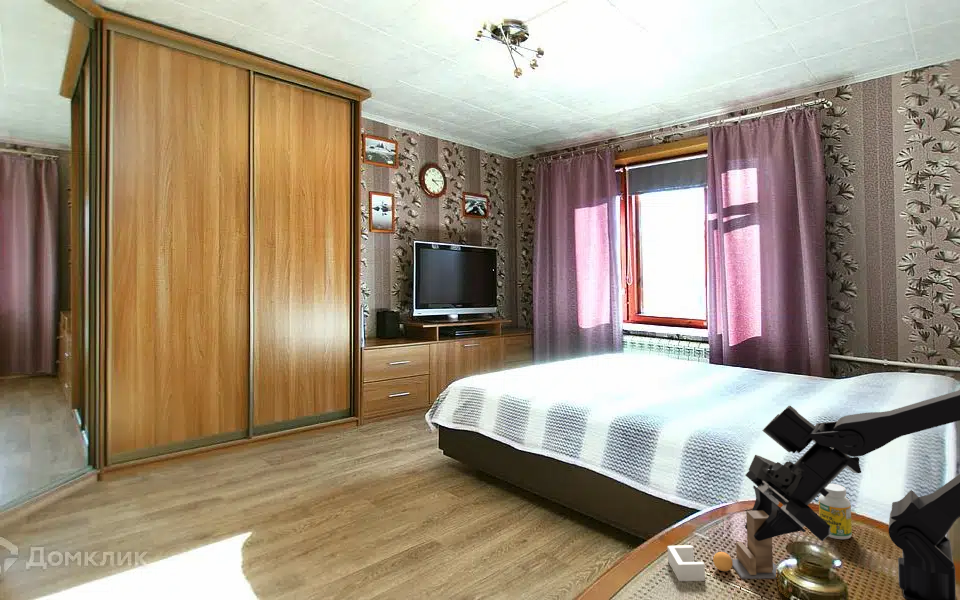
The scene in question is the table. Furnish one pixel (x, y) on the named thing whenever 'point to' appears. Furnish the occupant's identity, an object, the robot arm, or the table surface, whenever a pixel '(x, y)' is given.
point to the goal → (685, 563)
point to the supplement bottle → (836, 511)
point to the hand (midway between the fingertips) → (751, 534)
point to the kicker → (755, 546)
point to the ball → (722, 561)
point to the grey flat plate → (745, 574)
